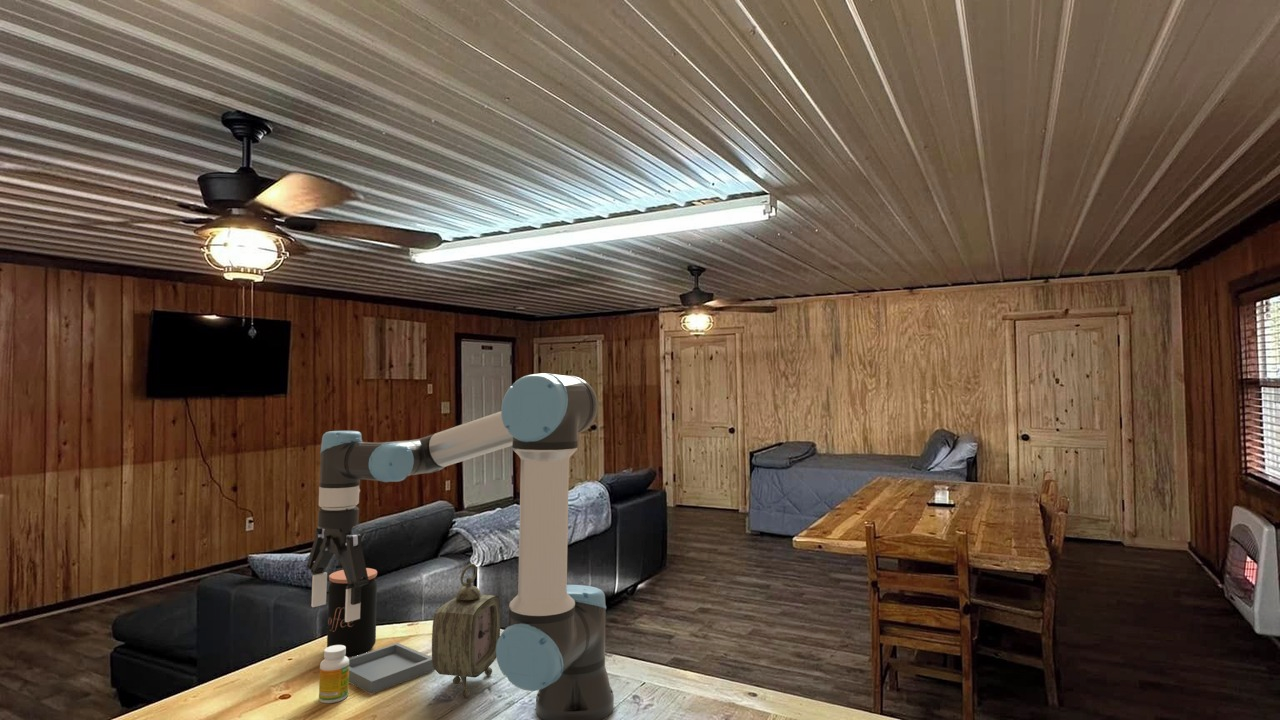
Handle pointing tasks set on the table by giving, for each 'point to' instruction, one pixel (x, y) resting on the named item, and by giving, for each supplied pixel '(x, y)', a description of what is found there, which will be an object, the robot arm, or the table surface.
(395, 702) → the table surface
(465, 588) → the tabletop clock
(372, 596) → the coffee jar
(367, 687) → the tray
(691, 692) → the table surface
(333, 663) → the supplement bottle
